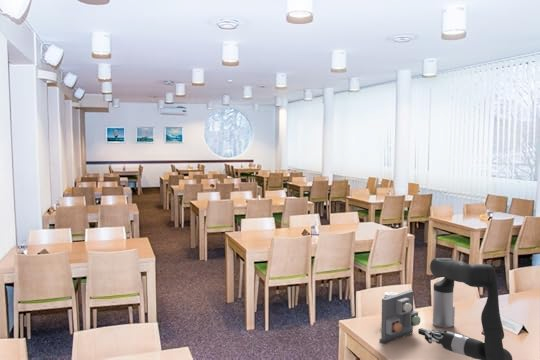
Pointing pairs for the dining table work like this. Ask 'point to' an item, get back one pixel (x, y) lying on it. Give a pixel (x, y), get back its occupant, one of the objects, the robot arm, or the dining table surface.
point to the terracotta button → (397, 327)
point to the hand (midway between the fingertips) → (419, 330)
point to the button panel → (396, 316)
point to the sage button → (415, 320)
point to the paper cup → (389, 294)
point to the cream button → (406, 307)
